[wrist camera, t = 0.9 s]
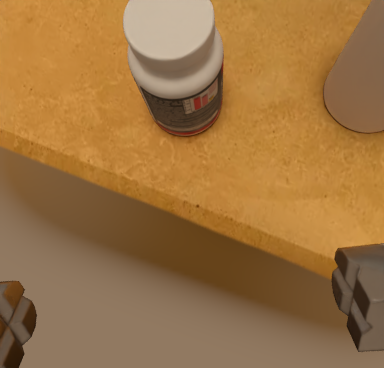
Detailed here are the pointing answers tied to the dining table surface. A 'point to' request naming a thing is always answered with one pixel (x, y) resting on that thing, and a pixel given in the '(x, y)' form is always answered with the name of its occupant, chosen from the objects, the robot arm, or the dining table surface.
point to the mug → (360, 76)
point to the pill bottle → (176, 61)
